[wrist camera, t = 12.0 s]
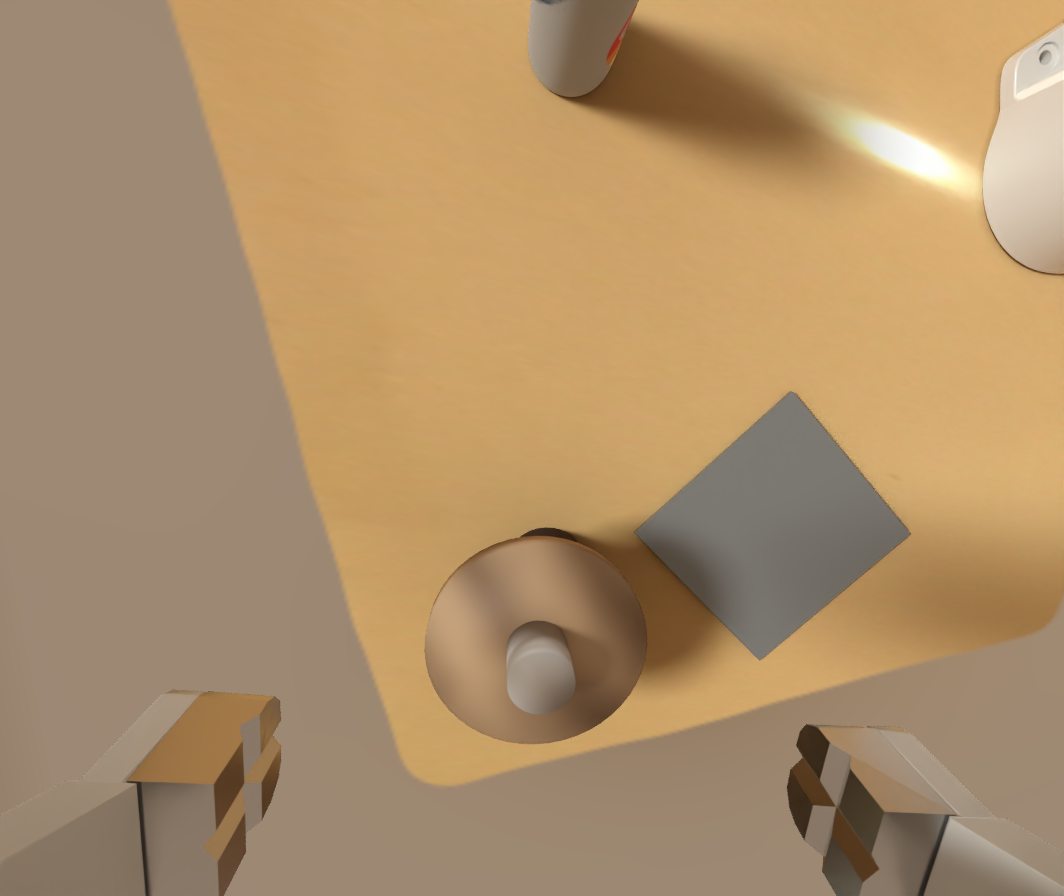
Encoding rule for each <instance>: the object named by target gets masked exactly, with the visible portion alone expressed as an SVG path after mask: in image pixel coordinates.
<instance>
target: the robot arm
mask: <svg viewBox="0 0 1064 896" xmlns="http://www.w3.org/2000/svg"><path fill="white" fill-rule="evenodd" d="M1039 58H1040V61H1039ZM983 199H984V206H985V211H986V215H987V218H988V221H989V224H990V226H991V229H992V231H993V233H994V235H995V237H996V238H997V240H998V241H999V243H1000V244H1001V245H1002V247H1003V248H1004V249H1005V250H1006V251H1007V252H1008V253H1009V254H1010V255H1011V256H1012V257H1013V258H1014V259H1016V260H1017V261H1019V262H1020V263H1022V264H1023V265H1025V266H1027V267H1029V268H1032V269H1034V270H1037V271H1041V272H1045V273H1053V274H1064V22H1063V23H1062V24H1060V25H1059V26H1057V27H1055V28H1054V29H1052V30H1051V31H1049V32H1048V33H1046V34H1045V35H1043V36H1042V37H1040V38H1039V39H1037V40H1035V41H1034V42H1032V43H1031V44H1029V45H1028V46H1026V47H1025V48H1023V49H1022V50H1020V51H1019V52H1017V53H1016V54H1014V55H1013V56H1012V57H1010V58H1009V59H1008V61H1007V62H1006V63H1005V65H1004V68H1003V71H1002V75H1001V84H1000V114H999V118H998V121H997V125H996V128H995V130H994V133H993V136H992V139H991V142H990V144H989V148H988V151H987V155H986V160H985V165H984V173H983ZM280 721H281V712H280V701H279V700H278V699H277V698H276V697H275V696H264V695H250V694H238V693H225V692H212V691H208V692H203V691H190V690H176V689H173V690H170V691H168V692H166V693H163V694H162V695H161V696H160V697H159V698H158V699H157V700H156V701H155V702H154V703H153V704H152V705H151V706H150V707H149V708H148V709H147V710H146V711H145V712H144V713H143V714H142V715H141V716H140V718H139V719H138V720H137V721H136V722H135V723H134V724H133V725H132V726H131V727H130V728H129V729H128V730H127V731H126V732H125V733H124V734H123V735H122V736H121V737H120V738H119V739H118V740H117V742H116V743H115V744H114V745H113V746H112V747H111V748H110V749H109V750H108V751H107V752H106V753H105V754H104V755H103V756H102V757H101V758H100V759H99V760H98V761H97V762H96V763H95V764H94V765H93V766H92V768H90V770H89V771H88V772H87V773H86V774H85V775H84V776H83V777H82V778H81V779H80V780H79V781H64V782H62V783H60V784H58V785H57V786H55V787H53V788H51V789H49V790H47V791H45V792H43V793H41V794H39V795H37V796H35V797H33V798H32V799H30V800H27V801H26V802H24V803H22V804H20V805H18V806H16V807H14V808H12V809H10V810H8V811H6V812H4V813H2V814H0V896H224V894H225V892H226V890H227V888H228V886H229V885H230V883H231V881H232V879H233V876H234V875H235V873H236V871H237V869H238V867H239V865H240V863H241V861H242V859H243V857H244V855H245V853H246V832H248V831H249V830H250V829H252V828H253V827H254V826H255V825H257V824H258V823H259V822H261V821H262V819H263V817H264V815H265V813H266V811H267V809H268V807H269V805H270V803H271V800H272V797H273V794H274V791H275V788H276V784H277V781H278V778H279V771H280V764H281V745H280V744H279V743H278V741H277V740H276V739H275V738H274V736H273V733H274V731H275V729H276V728H277V726H278V724H279V722H280ZM796 746H797V748H798V750H799V752H800V753H801V755H802V757H803V758H802V759H801V760H800V761H798V763H796V764H795V765H794V766H793V767H792V768H791V769H790V774H789V779H788V784H787V792H788V801H789V808H790V811H791V814H792V816H793V819H794V822H795V825H796V826H797V828H798V830H799V832H800V834H801V835H802V837H803V839H804V841H806V842H807V843H808V844H809V845H811V846H812V847H813V848H814V849H815V850H817V851H818V852H819V853H820V854H821V855H823V866H822V872H823V873H824V875H825V877H826V879H827V880H828V882H829V884H830V885H831V887H832V889H833V890H834V892H835V894H836V896H1064V852H1063V851H1061V850H1059V849H1058V848H1056V847H1054V846H1052V845H1051V844H1049V843H1047V842H1045V841H1044V840H1042V839H1040V838H1039V837H1037V836H1035V835H1034V834H1032V833H1030V832H1028V831H1026V830H1025V829H1023V828H1022V827H1020V826H1018V825H1016V824H1015V823H1013V822H1011V821H1009V820H1008V819H1002V818H995V817H994V816H993V815H992V814H991V813H990V812H989V811H988V810H987V809H986V808H985V807H984V806H983V805H982V804H981V803H980V802H979V801H978V800H977V799H976V798H975V797H974V796H973V795H972V794H971V793H970V792H969V791H968V790H967V789H966V788H965V787H964V786H963V785H962V784H961V783H960V782H959V781H958V780H957V779H956V778H955V777H954V776H953V775H952V774H951V773H950V772H949V771H948V770H947V769H946V768H945V767H944V766H943V765H942V764H941V763H940V762H939V761H938V760H937V759H936V758H935V757H934V756H933V755H932V754H931V753H930V752H929V751H928V750H927V749H926V748H925V747H924V746H923V745H922V744H921V743H920V742H919V741H918V740H917V739H916V738H915V737H914V736H913V735H912V734H911V733H909V732H907V731H905V730H904V729H902V728H900V727H886V726H884V727H883V726H867V727H859V726H837V725H836V726H835V725H814V724H806V725H805V726H804V727H803V728H802V730H801V731H800V733H799V737H798V740H797V744H796Z"/></svg>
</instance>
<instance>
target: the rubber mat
mask: <svg viewBox="0 0 1064 896" xmlns="http://www.w3.org/2000/svg"><path fill="white" fill-rule="evenodd" d="M635 534H636V535H637V536H638V537H639V538H640V539H641V540H642V541H643V542H644V543H645V544H646V545H647V546H648V547H649V548H650V549H651V550H652V551H653V552H654V553H655V554H656V555H657V556H658V557H659V558H660V559H661V560H662V561H663V562H664V563H665V564H666V565H667V566H668V567H669V568H670V570H671V571H672V572H673V573H674V574H675V575H676V576H677V577H678V578H679V579H680V580H681V581H682V582H683V583H684V584H685V585H686V586H687V587H688V588H689V589H690V590H691V591H692V592H693V593H694V594H695V595H696V596H697V597H698V598H699V599H700V600H701V601H702V602H703V603H704V604H705V605H706V606H707V607H708V608H709V609H710V610H711V611H712V613H713V614H714V615H715V616H716V617H717V618H718V619H719V620H720V621H721V622H722V623H723V624H724V625H725V626H726V627H727V628H728V629H729V630H730V631H731V632H732V633H733V634H734V635H735V636H736V637H737V638H738V639H739V640H740V641H741V642H742V643H743V644H744V645H745V646H746V647H747V648H748V649H749V650H750V651H751V652H752V653H753V654H754V655H755V657H756V658H757V659H758V660H759V661H760V660H761V659H762V658H763V657H765V656H766V655H767V654H768V653H769V652H771V651H772V650H773V649H774V648H775V647H777V646H778V645H779V644H780V643H781V642H783V641H784V640H785V639H786V638H787V637H788V636H790V635H791V634H792V633H793V632H794V631H796V630H797V629H798V628H799V627H800V626H802V625H803V624H804V623H805V622H806V621H808V620H809V619H810V618H811V617H812V616H814V615H815V614H816V613H817V612H818V611H819V610H821V609H822V608H823V607H824V606H825V605H827V604H828V603H829V602H830V601H831V600H833V599H834V598H835V597H836V596H837V595H839V594H840V593H841V592H842V591H843V590H845V589H846V588H847V587H848V586H849V585H850V584H852V583H853V582H854V581H855V580H856V579H858V578H859V577H860V576H861V575H862V574H864V573H865V572H866V571H867V570H868V569H870V568H871V567H872V566H873V565H874V564H876V563H877V562H878V561H879V560H880V559H881V558H883V557H884V556H885V555H886V554H887V553H889V552H890V551H891V550H892V549H893V548H895V547H896V546H897V545H898V544H899V543H901V542H902V541H903V540H904V539H905V538H907V537H908V536H909V535H910V532H909V531H908V530H907V529H906V528H905V526H904V525H903V524H902V523H901V522H900V520H899V519H898V518H897V517H896V515H895V514H894V513H893V512H892V511H891V509H890V508H889V507H888V506H887V505H886V503H885V502H884V501H883V500H882V499H881V497H880V496H879V495H878V494H877V492H876V491H875V490H874V489H873V488H872V486H871V485H870V484H869V483H868V482H867V480H866V479H865V478H864V477H863V475H862V474H861V473H860V472H859V471H858V469H857V468H856V467H855V466H854V465H853V463H852V462H851V461H850V460H849V459H848V457H847V456H846V455H845V454H844V452H843V451H842V450H841V449H840V448H839V446H838V445H837V444H836V443H835V442H834V440H833V439H832V438H831V437H830V435H829V434H828V433H827V432H826V431H825V429H824V428H823V427H822V426H821V425H820V423H819V422H818V421H817V420H816V419H815V417H814V416H813V415H812V414H811V412H810V411H809V410H808V409H807V408H806V406H805V405H804V404H803V403H802V402H801V400H800V399H799V398H798V397H797V396H796V394H795V393H794V392H789V393H788V394H787V395H786V396H785V397H783V398H782V399H781V400H780V401H779V402H778V403H777V404H776V405H775V406H773V407H772V408H771V409H770V410H769V411H768V412H767V413H766V414H765V415H763V416H762V417H761V418H760V419H759V420H758V421H757V422H756V423H755V424H753V425H752V426H751V427H750V428H749V429H748V430H747V431H746V432H745V433H744V434H742V435H741V436H740V437H739V438H738V439H737V440H736V441H735V442H734V443H732V444H731V445H730V446H729V447H728V448H727V449H726V450H725V451H724V452H722V453H721V454H720V455H719V456H718V457H717V458H716V459H715V460H714V461H712V462H711V463H710V464H709V465H708V466H707V467H706V468H705V469H704V470H702V471H701V472H700V473H699V474H698V475H697V476H696V477H695V478H694V479H692V480H691V481H690V482H689V483H688V484H687V485H686V486H685V487H684V488H682V489H681V490H680V491H679V492H678V493H677V494H676V495H675V496H674V497H672V498H671V499H670V500H669V501H668V502H667V503H666V504H665V505H664V506H662V507H661V508H660V509H659V510H658V511H657V512H656V513H655V514H654V515H652V516H651V517H650V518H649V519H648V520H647V521H646V522H645V523H644V524H642V525H641V526H640V527H639V528H638V529H637V530H636V531H635Z"/></svg>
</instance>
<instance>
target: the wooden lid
mask: <svg viewBox="0 0 1064 896" xmlns="http://www.w3.org/2000/svg"><path fill="white" fill-rule="evenodd" d="M646 649H647V631H646V624H645V619H644V616H643V612H642V609H641V607H640V604H639V602H638V600H637V598H636V596H635V594H634V592H633V590H632V588H631V586H630V585H629V583H628V582H627V580H626V579H625V577H624V576H623V575H622V573H621V572H620V571H619V570H618V569H617V568H616V567H615V566H614V565H613V564H612V563H611V562H610V561H609V560H607V559H606V558H605V557H604V556H602V555H601V554H599V553H598V552H596V551H594V550H593V549H591V548H589V547H586V546H584V545H582V544H580V543H577V542H574V541H571V540H567V539H563V538H557V537H550V536H528V537H520V538H515V539H510V540H506V541H503V542H500V543H497V544H494V545H492V546H490V547H488V548H486V549H484V550H482V551H480V552H478V553H477V554H475V555H474V556H472V557H470V558H469V559H468V560H467V561H465V562H464V563H463V564H462V565H461V566H459V567H458V568H457V569H456V571H455V572H454V573H453V574H452V575H451V576H450V577H449V578H448V580H447V581H446V583H445V584H444V585H443V587H442V588H441V590H440V592H439V594H438V596H437V598H436V600H435V602H434V605H433V608H432V611H431V614H430V618H429V622H428V626H427V631H426V636H425V659H426V666H427V670H428V673H429V677H430V679H431V682H432V684H433V687H434V689H435V691H436V692H437V694H438V696H439V697H440V699H441V700H442V702H443V703H444V704H445V705H446V707H447V708H448V709H449V710H450V711H451V712H452V713H453V714H454V715H455V716H456V717H457V718H458V719H459V720H461V721H462V722H464V723H465V724H466V725H468V726H469V727H471V728H473V729H475V730H476V731H478V732H480V733H482V734H484V735H487V736H490V737H492V738H495V739H499V740H502V741H506V742H512V743H519V744H542V743H551V742H556V741H561V740H565V739H568V738H571V737H574V736H577V735H579V734H581V733H584V732H586V731H588V730H590V729H592V728H593V727H595V726H597V725H598V724H600V723H601V722H603V721H604V720H605V719H607V718H608V717H609V716H610V715H612V714H613V713H614V712H615V711H616V710H617V709H618V708H619V707H620V706H621V705H622V703H623V702H624V701H625V700H626V698H627V697H628V696H629V695H630V693H631V691H632V690H633V688H634V686H635V685H636V683H637V681H638V678H639V676H640V674H641V672H642V668H643V665H644V661H645V656H646Z"/></svg>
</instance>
